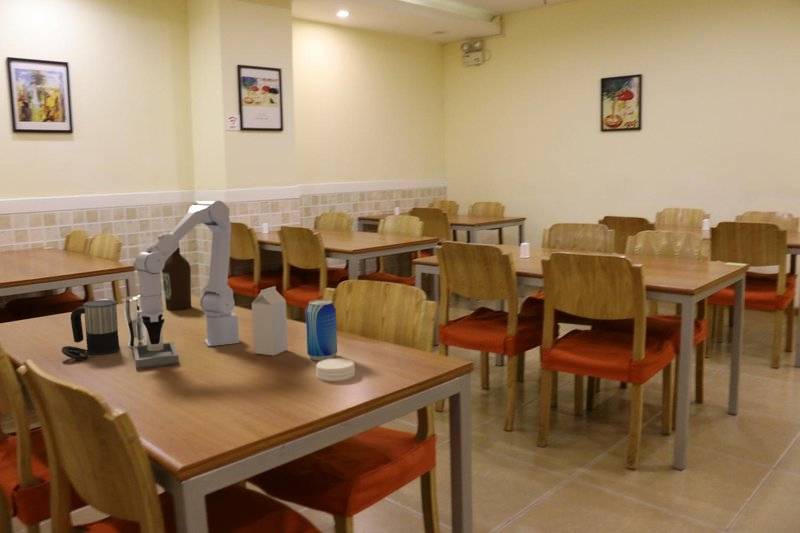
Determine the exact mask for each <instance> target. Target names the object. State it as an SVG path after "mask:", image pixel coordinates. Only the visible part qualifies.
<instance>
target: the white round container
mask: <svg viewBox="0 0 800 533" xmlns="http://www.w3.org/2000/svg"><path fill="white" fill-rule="evenodd" d="M315 367H316V373H315V374H316V375H315V376H316V378H317V379H318V380H320V381H323V382H324V381H325V382H341V381H342V382H343V381H347V380H350V379H352V378H354V376H355V374H356V372H355V370H356V368H355V367H356V366H355V362H354V361H353V360H351V359H347V358H340V357H339V358H337V357H336V358H335V357H334V358H332V359H326V360H319V361H318V362H317V364H316V366H315Z"/></svg>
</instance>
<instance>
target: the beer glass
mask: <svg viewBox="0 0 800 533" xmlns="http://www.w3.org/2000/svg"><path fill="white" fill-rule="evenodd" d="M123 300H124V301H123V303H124V304H123V312H124V319H125V323H126V326H127V330H128V347H129V348H130V349H131V348H132V349H133V346H141V345H147V336H146V327H145V325H144V323H143V319H142V316H145V315H142V314H137V311H140V310H141V298H140V295H133V296H132V295H131V296H126V297H124V299H123Z"/></svg>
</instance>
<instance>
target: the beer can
mask: <svg viewBox="0 0 800 533" xmlns="http://www.w3.org/2000/svg"><path fill="white" fill-rule="evenodd" d="M336 310H337V309H336V307H335V305H334V304H333V301H332V300H331V299H315V300H309V301H308V305H307V308H306V309H305V325H306V349H307V356H309V358H310V359H311V360H312V361H313V360H314V361H323V360H326V359H334V358H335V356H336V354H337V353H338V338H337V337H338V336H337V333H338V332H337V311H336Z"/></svg>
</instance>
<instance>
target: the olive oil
mask: <svg viewBox="0 0 800 533" xmlns="http://www.w3.org/2000/svg"><path fill="white" fill-rule="evenodd" d="M180 250H181V248H180V246H179V247H178V248H177V249H176V250H175V251H174V252H173V254H172V255H171V256H170V257H169V258H168V259H167V260H166V261H165V265H164V268H163V270H161V274H162V276H161V277H162V282H163V292H164V300H165V309H166V310H168V311H181V310H187V309H190V308H191V307H192V295H191V294H192V273H191V272H192V271H191V265H190V262H189V261H188V260H187V259H186V258H184V256H183V255H182V254H181V251H180Z"/></svg>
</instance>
